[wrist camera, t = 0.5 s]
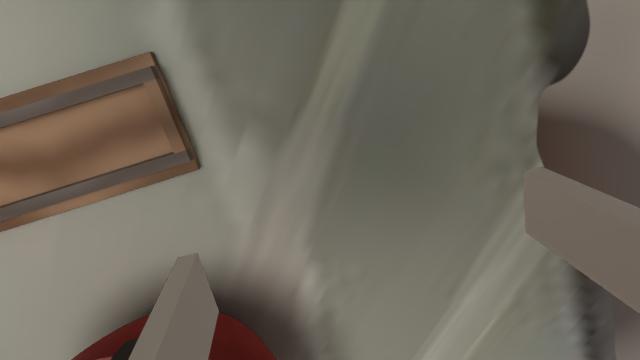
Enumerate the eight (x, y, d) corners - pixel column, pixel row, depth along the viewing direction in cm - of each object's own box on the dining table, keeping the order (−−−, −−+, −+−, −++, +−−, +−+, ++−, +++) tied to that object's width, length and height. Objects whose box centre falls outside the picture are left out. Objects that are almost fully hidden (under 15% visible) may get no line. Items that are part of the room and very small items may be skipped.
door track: (-150, 146, 37) (-179, 152, 34) (152, 52, 37) (144, 51, 35) (-73, 252, 41) (-95, 264, 38) (200, 166, 41) (195, 173, 38)
